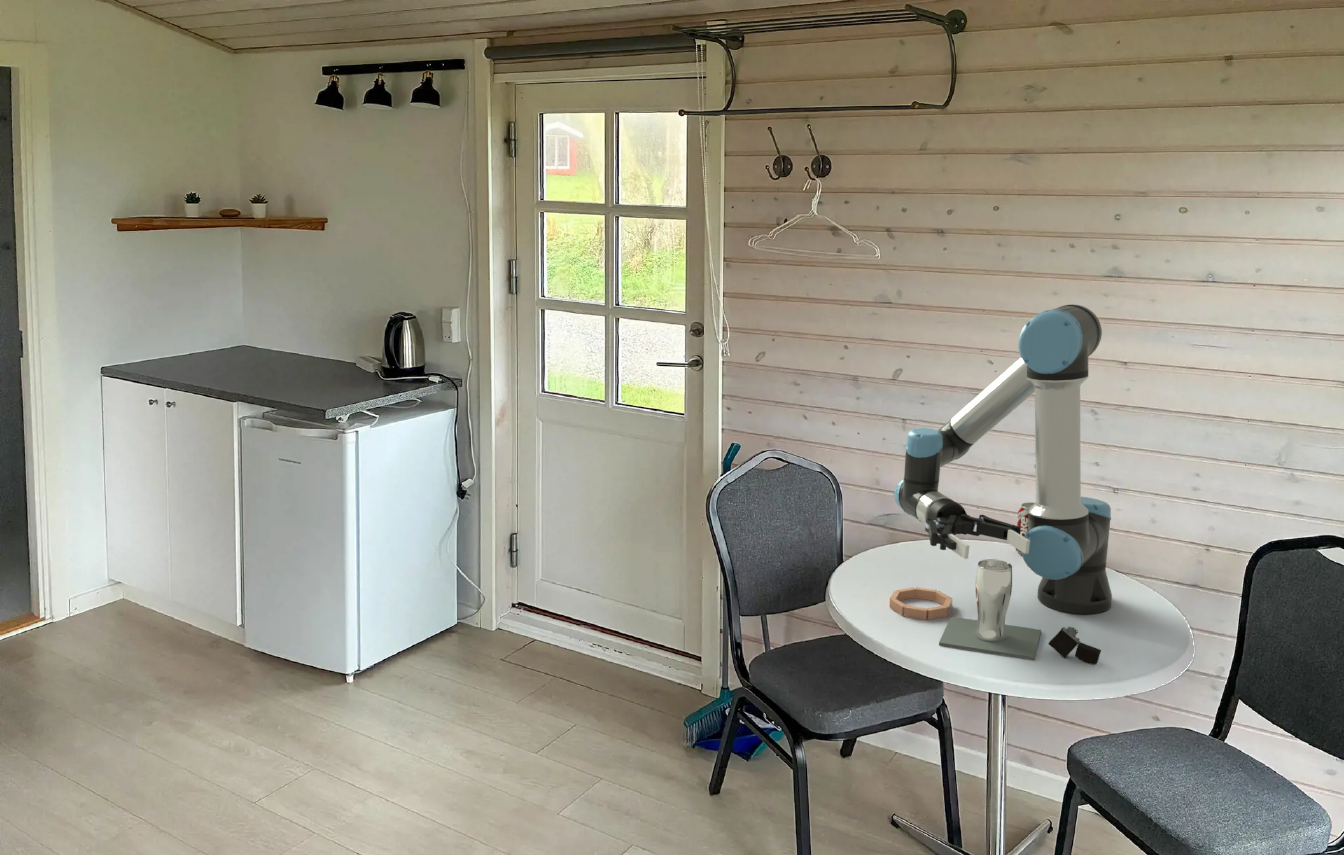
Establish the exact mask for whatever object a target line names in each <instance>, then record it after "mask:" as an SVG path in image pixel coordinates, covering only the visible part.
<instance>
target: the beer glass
mask: <svg viewBox="0 0 1344 855" xmlns="http://www.w3.org/2000/svg"><path fill="white" fill-rule="evenodd" d="M974 586H975V587H974V588H975V600H976V609H977V610H976V611H977V620H978V621H977V625H976V629H975V636H976V637H977V638H979V639H981V640H984V641H989V642H999V641H1003V640H1004V639H1006V629H1005V624H1006V618H1007V617H1006V616H1007V613H1008V608H1009V604H1010V602H1011V597H1012V592H1013V591H1012V590H1013V564H1012V563H1010V562H1008V561H1005V560H1000V559H996V558H995V559H983V560H982V559H981V560H979V561H978V562H977V569H976V576H975V585H974Z"/></svg>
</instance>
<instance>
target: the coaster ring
mask: <svg viewBox="0 0 1344 855" xmlns="http://www.w3.org/2000/svg"><path fill="white" fill-rule="evenodd" d="M910 599H921V600H929V601H934V602H936V603H938V604H940V605H937V606H934V607H933V606H932V607H918V606H911V605H906V604H905V603H904V602H902V601H906V600H910ZM952 608H953V598H952V597H950V596H949V595H948V594H946V593H943V592H942V591H941V590H937V589H933V588H926V587H919V586H917V587H916V586H915V587H914V586H913V587H912V586H911V587H907V588H902V589H896V590H894V591H893V592H892V594H891V596H890V598H889V609H891V610H892V611H894V612H896V613H897V614H899V615H900V616H902V617H905V618H911V619H918V620H924V621H925V620H935V619H939V618H940V619H941V618H944V617H948V616H949V615H950V613H951V610H952Z"/></svg>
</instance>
